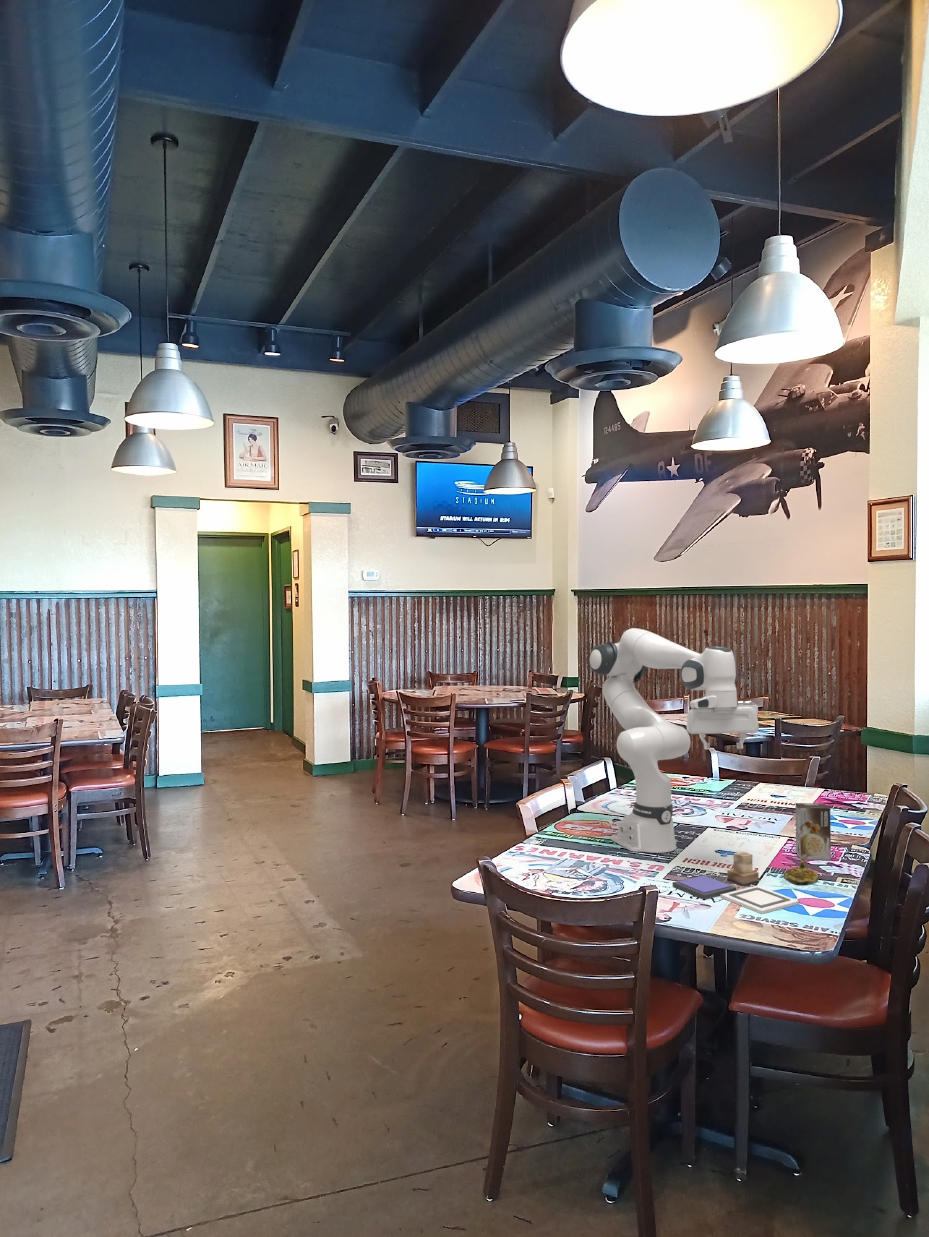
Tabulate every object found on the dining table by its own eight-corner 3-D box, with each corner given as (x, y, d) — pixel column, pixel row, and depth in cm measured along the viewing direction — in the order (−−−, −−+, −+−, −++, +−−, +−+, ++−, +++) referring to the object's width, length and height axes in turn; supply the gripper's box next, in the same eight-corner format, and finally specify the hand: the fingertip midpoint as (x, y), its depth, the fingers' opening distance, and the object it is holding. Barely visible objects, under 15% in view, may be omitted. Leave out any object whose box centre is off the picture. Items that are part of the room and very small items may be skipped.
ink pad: (672, 886, 243) (672, 881, 243) (704, 879, 249) (704, 874, 249) (704, 899, 233) (704, 894, 233) (736, 891, 239) (736, 886, 239)
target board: (720, 897, 234) (720, 893, 234) (757, 888, 241) (757, 884, 241) (761, 914, 222) (762, 910, 222) (799, 904, 229) (799, 900, 229)
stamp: (727, 880, 248) (727, 852, 248) (742, 877, 251) (742, 849, 251) (743, 886, 243) (743, 858, 243) (758, 883, 246) (758, 855, 246)
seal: (817, 892, 242) (818, 875, 255) (819, 876, 241) (820, 860, 255) (781, 884, 245) (785, 868, 259) (783, 868, 245) (787, 852, 259)
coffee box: (825, 854, 272) (825, 803, 271) (831, 860, 265) (831, 808, 265) (794, 853, 273) (795, 802, 272) (799, 859, 267) (800, 807, 266)
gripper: (754, 700, 257) (756, 747, 256) (684, 701, 259) (686, 748, 258) (760, 701, 251) (762, 749, 250) (688, 702, 252) (690, 750, 251)
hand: (723, 749), depth 254 cm, fingers open, 8 cm apart
